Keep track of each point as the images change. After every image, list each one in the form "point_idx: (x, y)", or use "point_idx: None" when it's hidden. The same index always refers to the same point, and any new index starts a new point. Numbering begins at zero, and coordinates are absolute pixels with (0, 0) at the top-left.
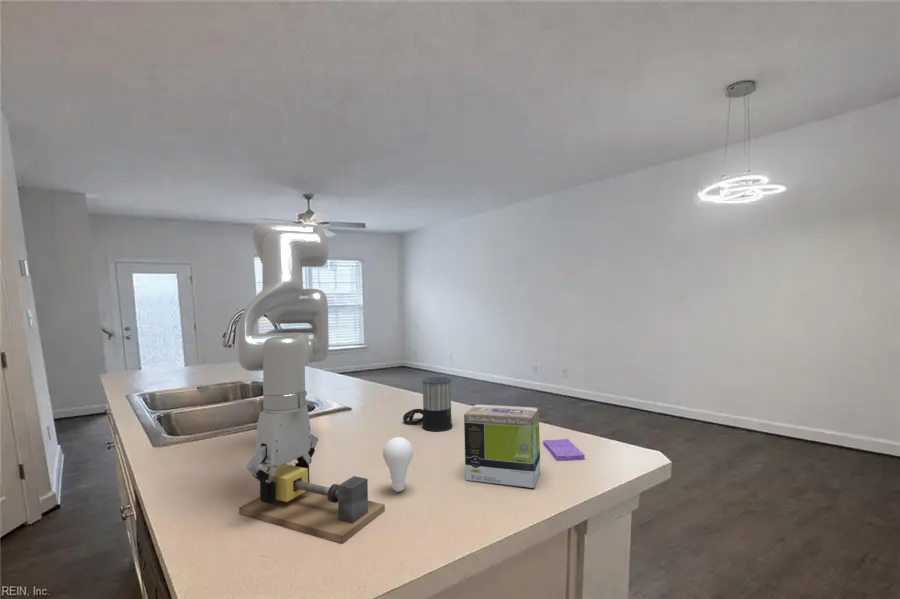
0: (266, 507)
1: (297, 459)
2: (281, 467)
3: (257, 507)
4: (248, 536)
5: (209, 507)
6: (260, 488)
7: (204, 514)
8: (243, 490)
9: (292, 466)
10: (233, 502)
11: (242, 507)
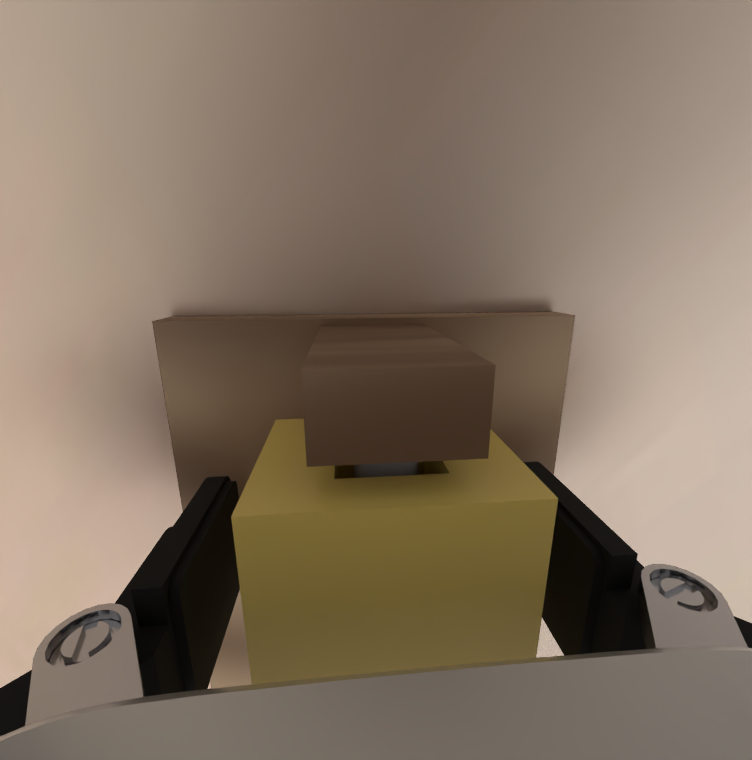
0: (244, 476)
1: (642, 627)
2: (461, 542)
3: (217, 428)
4: (65, 553)
5: (105, 11)
6: (134, 576)
7: (26, 88)
8: (421, 7)
9: (521, 614)
10: (251, 126)
11: (164, 343)
